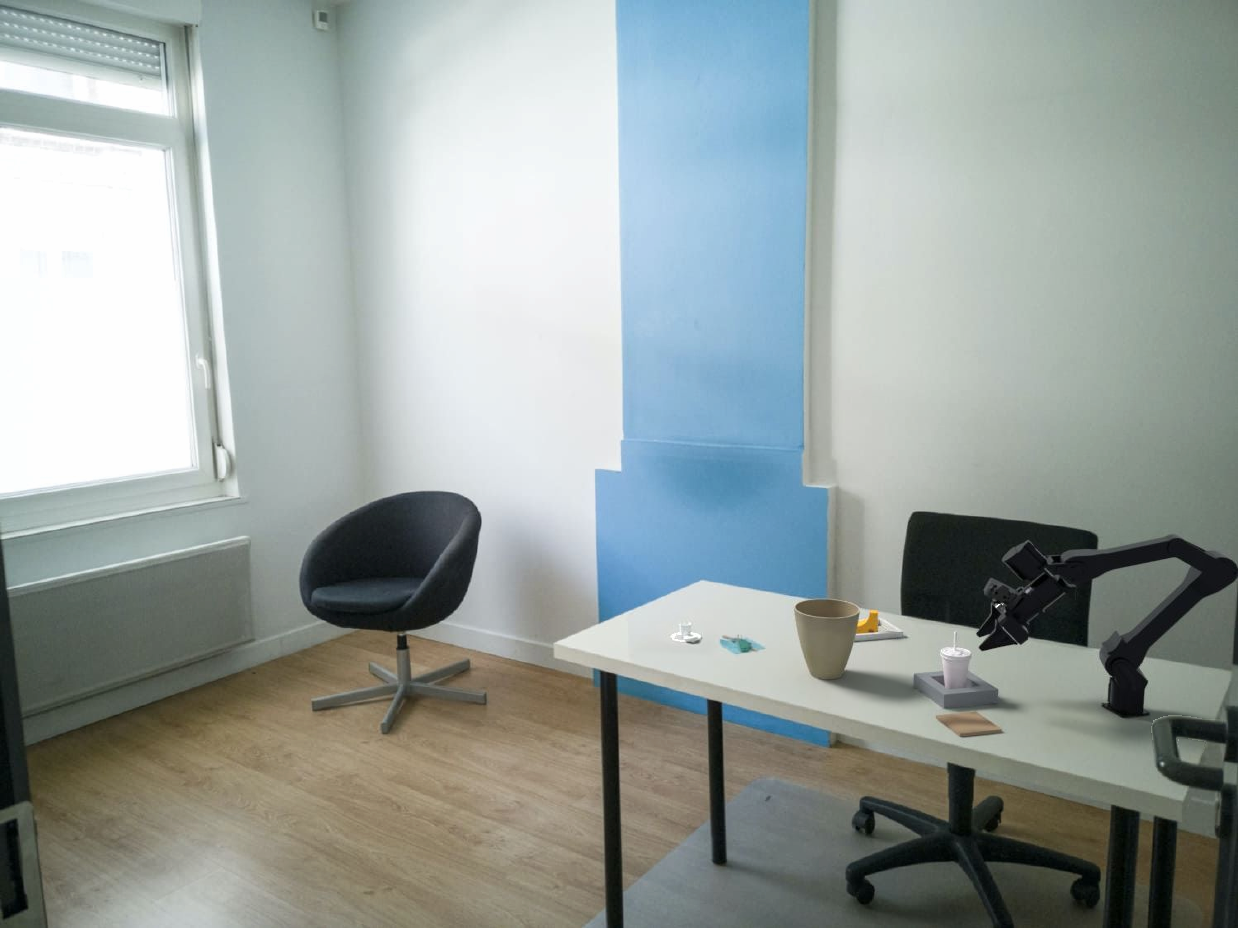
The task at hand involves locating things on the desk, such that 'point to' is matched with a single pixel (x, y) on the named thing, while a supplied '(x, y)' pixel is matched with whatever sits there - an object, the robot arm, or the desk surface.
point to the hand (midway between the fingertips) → (978, 642)
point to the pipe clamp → (868, 624)
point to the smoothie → (955, 665)
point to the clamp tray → (892, 632)
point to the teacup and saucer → (686, 633)
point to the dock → (955, 690)
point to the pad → (968, 723)
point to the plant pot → (826, 634)
